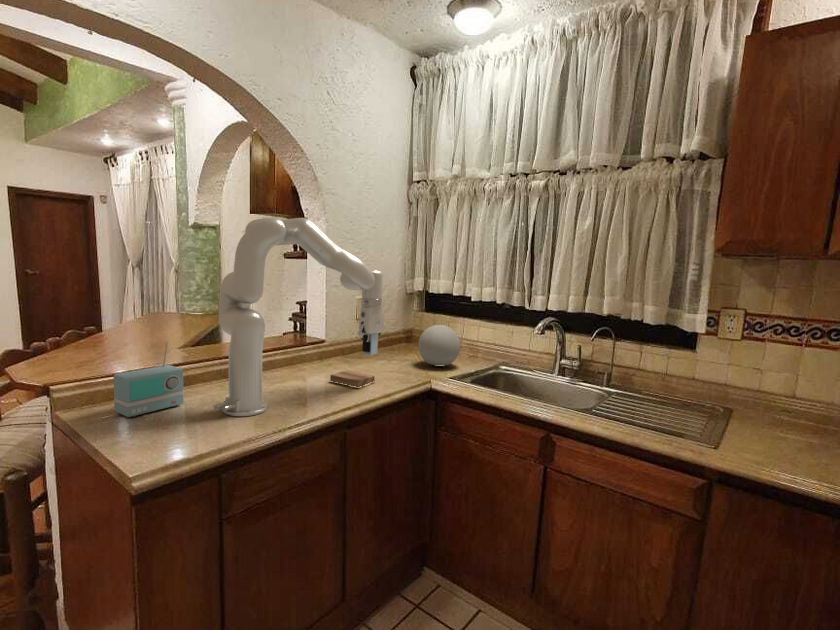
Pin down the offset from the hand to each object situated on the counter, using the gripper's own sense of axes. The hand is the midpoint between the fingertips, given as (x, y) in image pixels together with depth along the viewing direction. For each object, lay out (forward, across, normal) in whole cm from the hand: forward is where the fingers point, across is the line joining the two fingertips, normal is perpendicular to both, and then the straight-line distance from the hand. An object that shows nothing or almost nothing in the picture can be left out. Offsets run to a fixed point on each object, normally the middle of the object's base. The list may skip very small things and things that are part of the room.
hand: (370, 350), depth 162 cm
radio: (+14, -62, +34) cm, 72 cm away
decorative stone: (+15, +49, -4) cm, 51 cm away
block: (+1, 0, 0) cm, 1 cm away
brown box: (+14, 0, +8) cm, 16 cm away
